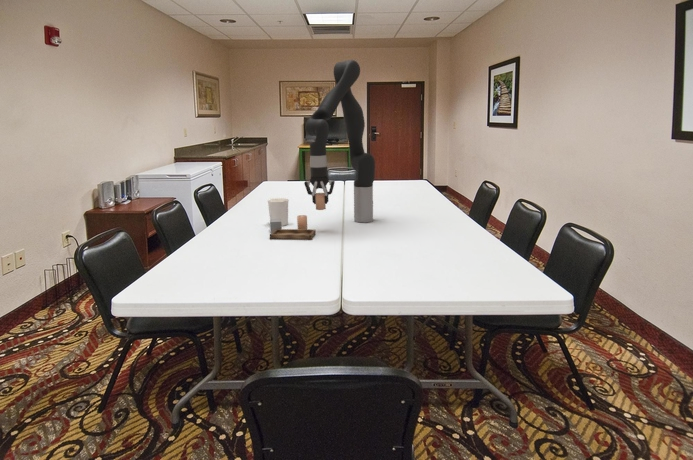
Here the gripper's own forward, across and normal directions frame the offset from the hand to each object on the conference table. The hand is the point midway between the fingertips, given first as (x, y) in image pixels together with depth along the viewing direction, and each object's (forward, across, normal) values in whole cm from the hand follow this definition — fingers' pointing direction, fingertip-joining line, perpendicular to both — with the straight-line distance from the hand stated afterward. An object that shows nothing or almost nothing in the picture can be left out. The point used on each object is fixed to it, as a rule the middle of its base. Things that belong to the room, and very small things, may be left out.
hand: (320, 203), depth 213 cm
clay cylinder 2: (+2, 0, 0) cm, 2 cm away
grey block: (+12, +21, +2) cm, 24 cm away
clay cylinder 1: (+12, +8, +2) cm, 15 cm away
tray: (+12, +11, +12) cm, 20 cm away
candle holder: (+12, +22, -11) cm, 28 cm away
